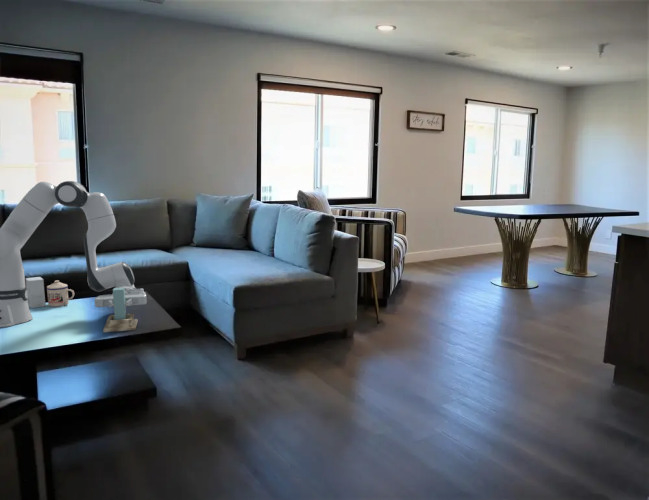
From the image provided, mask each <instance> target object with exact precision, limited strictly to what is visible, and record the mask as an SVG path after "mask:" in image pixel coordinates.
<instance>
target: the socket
mask: <svg viewBox="0 0 649 500" xmlns="http://www.w3.org/2000/svg"><path fill="white" fill-rule="evenodd" d="M137 324H138V319H137V318H135V314H134V313H133V312H132V313H126V319H122V320H115V317H114V314H109V315H108V317H107V320H106V323H105V325H104V327H103V329H102V330H103V331H102V332H103V333H111V332H124V331H125V332H126V331H135V330H137V326H138V325H137Z"/></svg>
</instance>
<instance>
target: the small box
mask: <svg viewBox="0 0 649 500" xmlns="http://www.w3.org/2000/svg"><path fill="white" fill-rule="evenodd" d="M44 282H45V281H44V278H42V277H41V276H35V277H25V286H26V287H27V292H28V299H27V301H28V306H29V308H31V309H33V308H35V309H36V308H39V307H40V308H41V307H46V297H45V296H46V293H45V283H44Z"/></svg>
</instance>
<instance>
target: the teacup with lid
mask: <svg viewBox="0 0 649 500" xmlns="http://www.w3.org/2000/svg"><path fill="white" fill-rule="evenodd" d="M68 287H69V286H68V284H67V283H63V282H60V280H58V279H57V280H54V282H53V283H51V284H50V285H47V286H46V292H47V293H46V294H47V304H48V306H49V307H52V308H53V307H64V306H66V305H68V304H69V303H70V302H69V301H70V300H73V298H74V296H75V291H74V290H73V289H71V288H70V289H69V288H68ZM69 292H71V293H72V294H71V295H72V296H71V297H69Z"/></svg>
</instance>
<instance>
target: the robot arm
mask: <svg viewBox="0 0 649 500" xmlns="http://www.w3.org/2000/svg"><path fill="white" fill-rule="evenodd" d="M57 204H60V205H62V206H63V207H68V208H81V210H82V212H84V214H85V218H86V221H87V226H88V227H87V228H88V229H87V231H86V233H84V235H83V247H84V255H85V262H86V270H87V271H86V272H87V283H88V287H89V289H91V290H93V291H95V292H98V293H100V292H103V291H105V290H107V289H110V288H124V289H125V306H126V307H129V306H138V305H147V294H146V293H147V292H146V291H144V288H140V287H139V288H138V287H135V281H136V280H135V279H136V278H135V274H134V272H133V269H132V267H131V266H130V265H129V264H128V263H126V262H124V261H121V262H117V263H113V264H110V265H107V266H103V267H98V260H97V253H96V250H97V246H98V245H100V243H101V242H103V241H104V240H106V239H107V238H109V237H110V236H111V235H112V234H113V233H114V232H115V230H116V228H117V222H116V218H115V215H114V212H113V208H112V206H111V204H110V201H109V199H108V198H107V196H106V195H105V194H104V193H103V192H99V191H98V192H97V191H94V192H88V190H87V188H86V187H85V186H84V185H83V184H82V183H79V182H77V181H73V180H68V181H62V182H60V183H59V184H58V185H57V186H56V185H53V184H52V183H50V182H48V181H40V182H38V183H36V184H35V185H34V186H33V187H32V188H30V189H29V190H28V192H27V193H26V194H25V195H24V196H23V198H22V199H21V200H19V203H17V205H16V206H15V208H13V210H12V211H11V212H10V214H9V216H7V218H6V220H5V221H4V223H3V224H2V225H1V227H0V328H8V327H11V326H14V325H18V324H24V323H27V322H29V321H31V320H33V315H32V313H31V310H30V306H29V305H28V301H27V299H28V292H27V287H26V276H25V268H24V265H23V260H22V256H21V249H22V248H23V247H24V246H25V244H26V243H27V242H28V240H29V239H30V238H31V236H32V235H33V234H34V232H35V231H36V230H37V228H38V227H39V226H40V224H41V223H42V222H43V221H44V219H45V218H46V217H47V215H48V214H49V213H50V212H51V211H52V209H53V208H54V207H55V206H56V205H57ZM94 306H95V308H105V307H106V308H108V307H110V308H114V301H113V293H112V294H101V295H98V296H97V297H95V299H94Z"/></svg>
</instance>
